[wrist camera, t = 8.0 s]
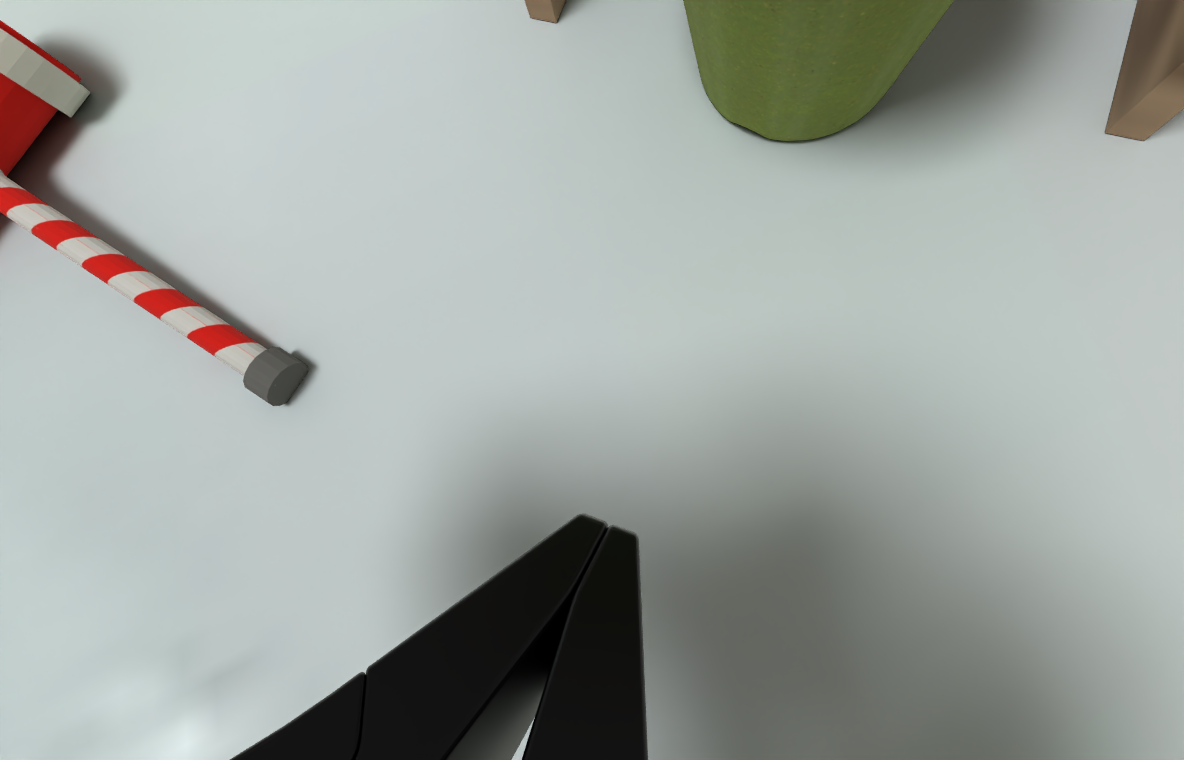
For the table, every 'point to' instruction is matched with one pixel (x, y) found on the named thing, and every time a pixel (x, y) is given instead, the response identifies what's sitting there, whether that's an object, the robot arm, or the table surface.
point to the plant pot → (804, 58)
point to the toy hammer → (3, 134)
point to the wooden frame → (1147, 77)
